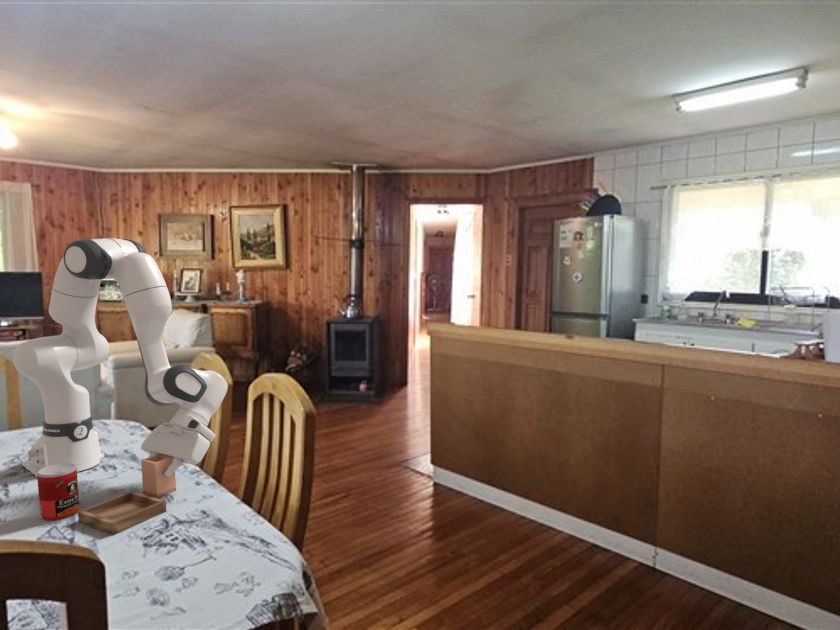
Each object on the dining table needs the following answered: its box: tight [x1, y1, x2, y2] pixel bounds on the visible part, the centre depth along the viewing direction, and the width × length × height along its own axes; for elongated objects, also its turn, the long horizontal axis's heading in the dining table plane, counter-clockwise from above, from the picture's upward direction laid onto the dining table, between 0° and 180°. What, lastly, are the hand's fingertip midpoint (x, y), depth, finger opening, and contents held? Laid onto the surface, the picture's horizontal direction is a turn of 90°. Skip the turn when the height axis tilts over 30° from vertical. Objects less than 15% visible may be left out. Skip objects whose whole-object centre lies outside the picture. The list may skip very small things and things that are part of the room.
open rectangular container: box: [140, 454, 177, 499], centre depth 139 cm, size 6×6×9 cm
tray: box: [77, 490, 167, 536], centre depth 125 cm, size 13×13×2 cm
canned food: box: [36, 463, 80, 522], centre depth 127 cm, size 8×8×11 cm
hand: (156, 473), depth 138 cm, fingers closed on open rectangular container, 5 cm apart
